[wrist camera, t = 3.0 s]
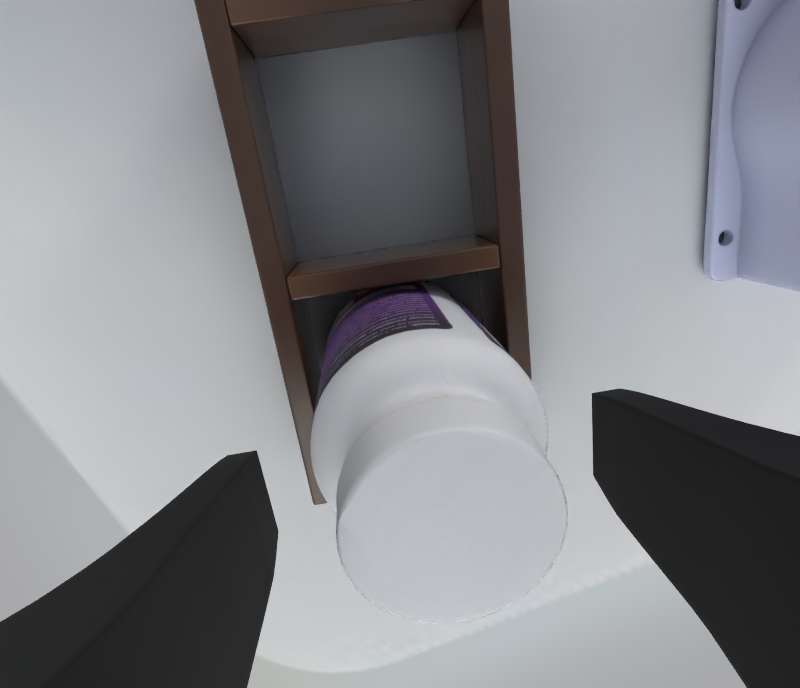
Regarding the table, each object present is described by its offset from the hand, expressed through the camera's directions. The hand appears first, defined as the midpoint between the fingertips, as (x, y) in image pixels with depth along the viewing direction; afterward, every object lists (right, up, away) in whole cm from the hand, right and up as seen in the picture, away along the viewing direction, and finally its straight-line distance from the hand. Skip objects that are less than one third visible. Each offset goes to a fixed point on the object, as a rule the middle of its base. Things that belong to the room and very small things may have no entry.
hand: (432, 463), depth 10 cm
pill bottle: (-1, +2, +7) cm, 8 cm away
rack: (-1, +5, +6) cm, 8 cm away
